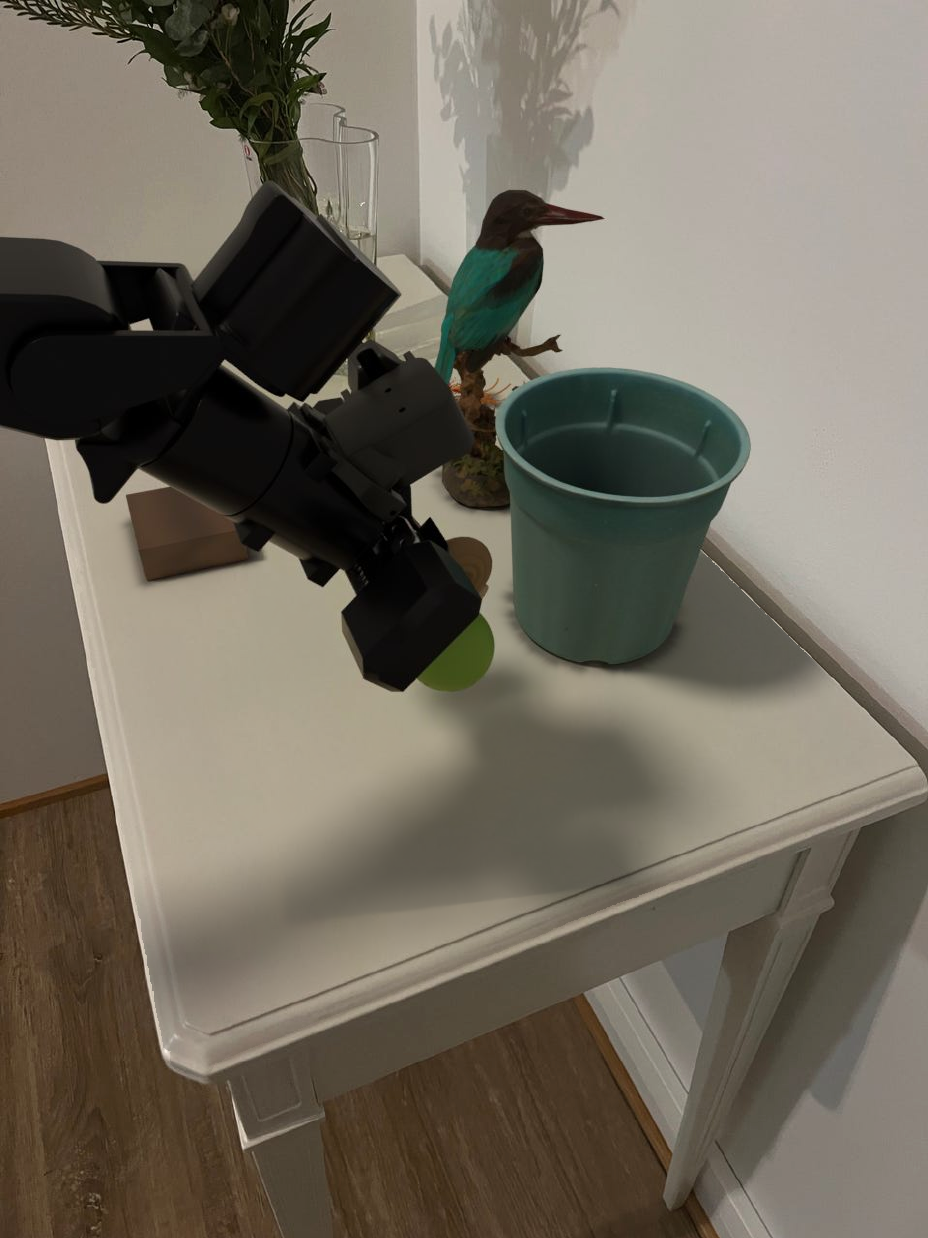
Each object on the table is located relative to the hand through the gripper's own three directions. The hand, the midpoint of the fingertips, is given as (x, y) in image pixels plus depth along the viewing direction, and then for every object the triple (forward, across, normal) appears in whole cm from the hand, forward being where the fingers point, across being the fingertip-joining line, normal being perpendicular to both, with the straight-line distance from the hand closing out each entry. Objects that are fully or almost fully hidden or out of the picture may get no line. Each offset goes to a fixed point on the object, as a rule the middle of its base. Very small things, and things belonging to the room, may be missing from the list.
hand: (464, 593), depth 54 cm
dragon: (+20, +42, -3) cm, 46 cm away
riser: (0, +27, +18) cm, 33 cm away
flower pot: (+19, +8, -1) cm, 20 cm away
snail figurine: (+4, 0, +6) cm, 7 cm away
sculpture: (+19, +27, -1) cm, 33 cm away
